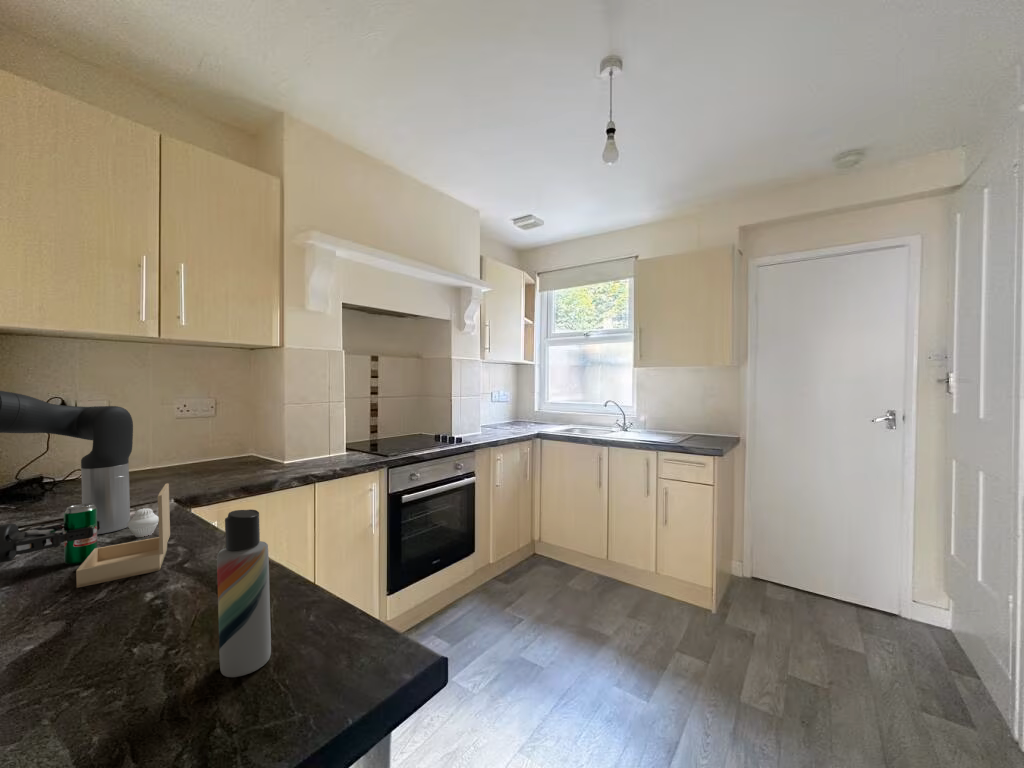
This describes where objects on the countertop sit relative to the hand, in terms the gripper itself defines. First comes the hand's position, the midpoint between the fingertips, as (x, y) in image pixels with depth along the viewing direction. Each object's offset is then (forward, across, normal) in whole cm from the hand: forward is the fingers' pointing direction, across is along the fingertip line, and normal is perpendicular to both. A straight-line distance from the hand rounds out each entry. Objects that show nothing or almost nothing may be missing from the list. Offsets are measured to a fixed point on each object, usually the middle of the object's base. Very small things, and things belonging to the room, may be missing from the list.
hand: (96, 528), depth 93 cm
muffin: (+6, +13, +7) cm, 16 cm away
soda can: (-2, 0, +7) cm, 7 cm away
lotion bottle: (+26, -64, +7) cm, 69 cm away
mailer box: (+6, -11, +7) cm, 14 cm away
